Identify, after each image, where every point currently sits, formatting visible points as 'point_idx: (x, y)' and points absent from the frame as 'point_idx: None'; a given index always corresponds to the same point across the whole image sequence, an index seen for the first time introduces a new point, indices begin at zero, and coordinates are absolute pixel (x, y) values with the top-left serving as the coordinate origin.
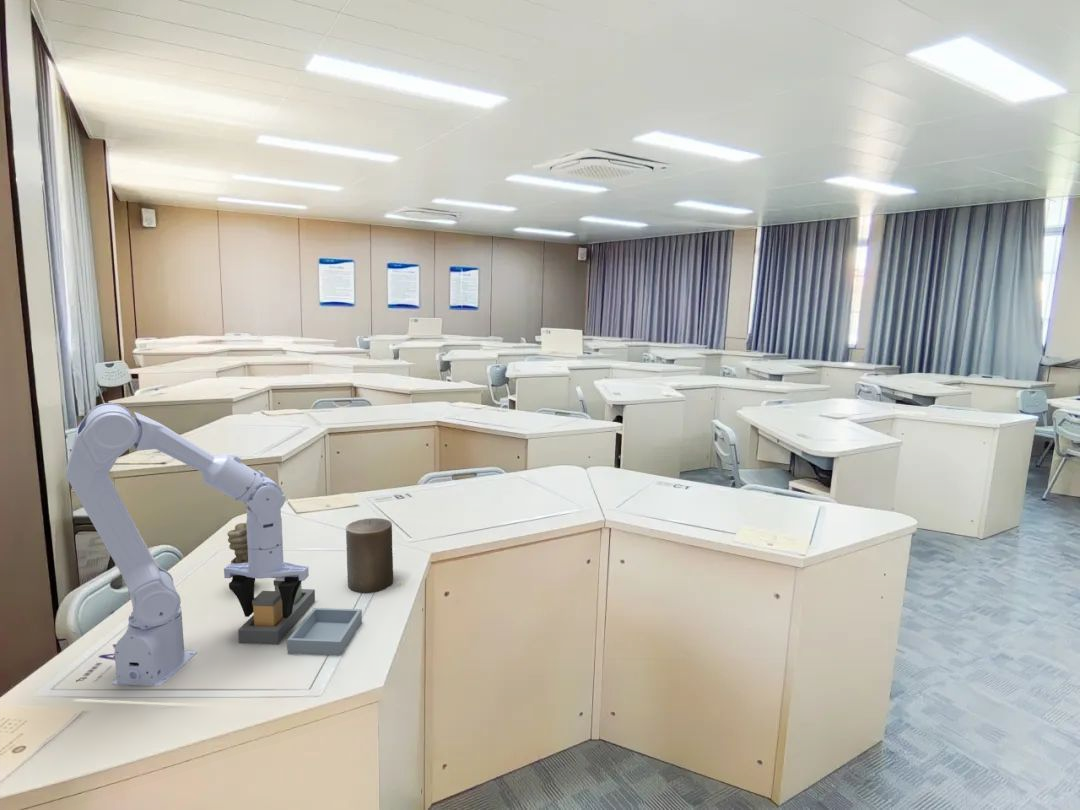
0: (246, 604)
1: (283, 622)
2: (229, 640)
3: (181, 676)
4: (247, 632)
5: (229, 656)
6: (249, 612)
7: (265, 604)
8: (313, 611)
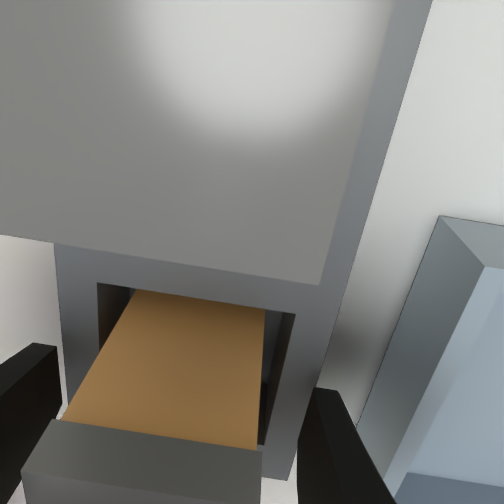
0: (2, 500)
1: (295, 416)
2: (36, 335)
3: (21, 500)
4: None
5: None
6: (48, 411)
7: None
8: (481, 316)
